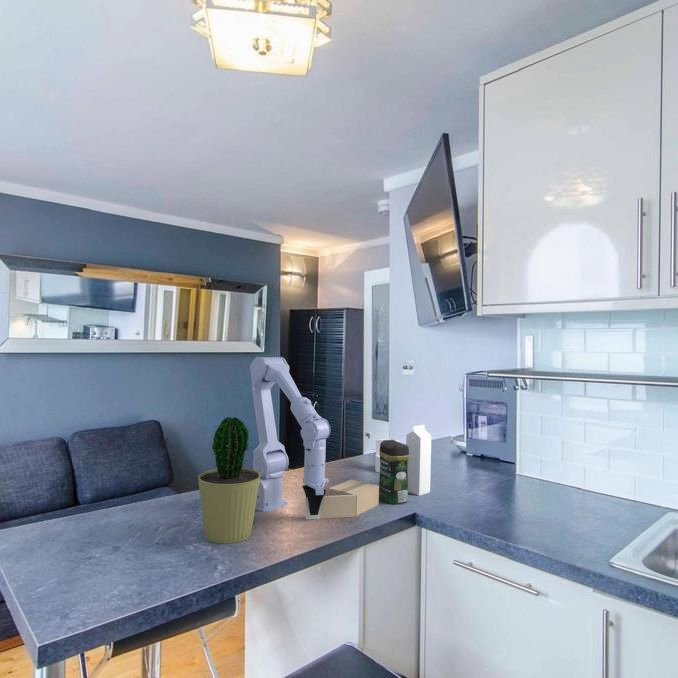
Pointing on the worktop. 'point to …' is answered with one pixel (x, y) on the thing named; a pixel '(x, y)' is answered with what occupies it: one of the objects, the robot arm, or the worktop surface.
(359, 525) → the worktop surface
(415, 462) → the milk
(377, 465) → the cylinder with rectangular tab
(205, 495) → the potted cactus
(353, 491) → the carton
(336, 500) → the beige rectangular panel
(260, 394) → the robot arm
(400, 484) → the coffee jar
